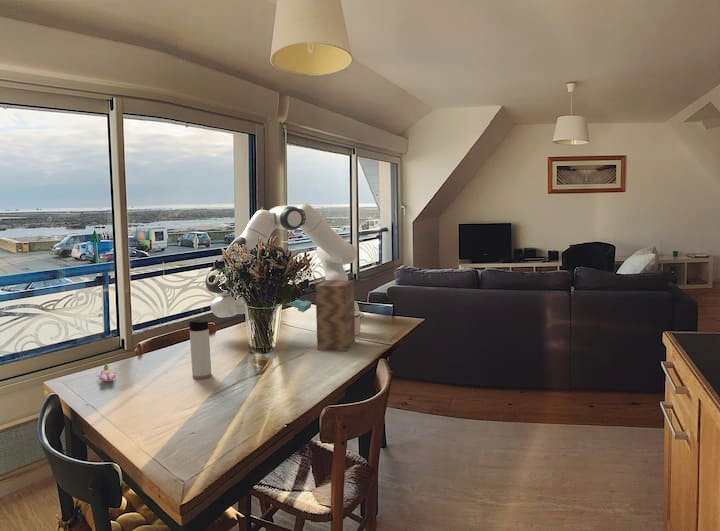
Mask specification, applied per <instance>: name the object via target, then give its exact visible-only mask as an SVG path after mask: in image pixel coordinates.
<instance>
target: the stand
mask: <svg viewBox="0 0 720 531" xmlns="http://www.w3.org/2000/svg"><path fill="white" fill-rule="evenodd" d="M354 301H355V280H349V279H348V280H326V279H325V280H323V281H321V282H320V283H318V284H317V285H315V311H316V312H315V313H316V342H317V343H316V344H317V345H316V346H317V348H316V350H318V351H332V352H333V351H334V352H347V351H348V350H349V349H350V348H351V347H352V346H353V344H354V343H355V342H356V335H355V318H354Z"/></svg>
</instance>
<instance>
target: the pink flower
mask: <svg viewBox="0 0 720 531" xmlns="http://www.w3.org/2000/svg"><path fill="white" fill-rule="evenodd" d="M116 374H117V371H115V372H112V370H111V369H109V366H108V364H107V363H105V364H104V366H103V370H101V371H100V374H96V377H98V380H100V381H101V382H105V381H109V382H110V381H112V380H114V379H115V378H116Z"/></svg>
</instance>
